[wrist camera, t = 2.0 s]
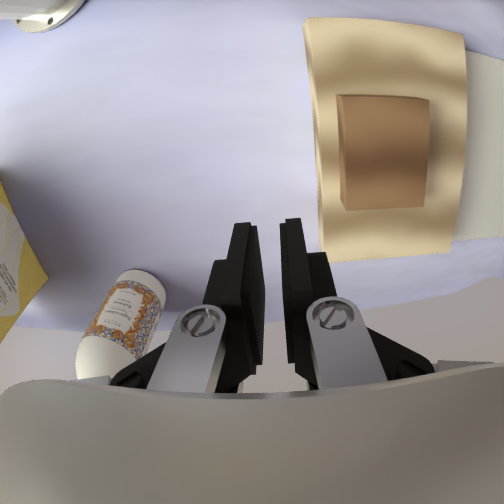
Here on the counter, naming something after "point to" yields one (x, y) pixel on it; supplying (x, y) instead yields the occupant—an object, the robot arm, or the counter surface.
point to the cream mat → (483, 151)
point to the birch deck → (398, 84)
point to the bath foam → (121, 325)
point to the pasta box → (15, 268)
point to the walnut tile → (382, 151)
